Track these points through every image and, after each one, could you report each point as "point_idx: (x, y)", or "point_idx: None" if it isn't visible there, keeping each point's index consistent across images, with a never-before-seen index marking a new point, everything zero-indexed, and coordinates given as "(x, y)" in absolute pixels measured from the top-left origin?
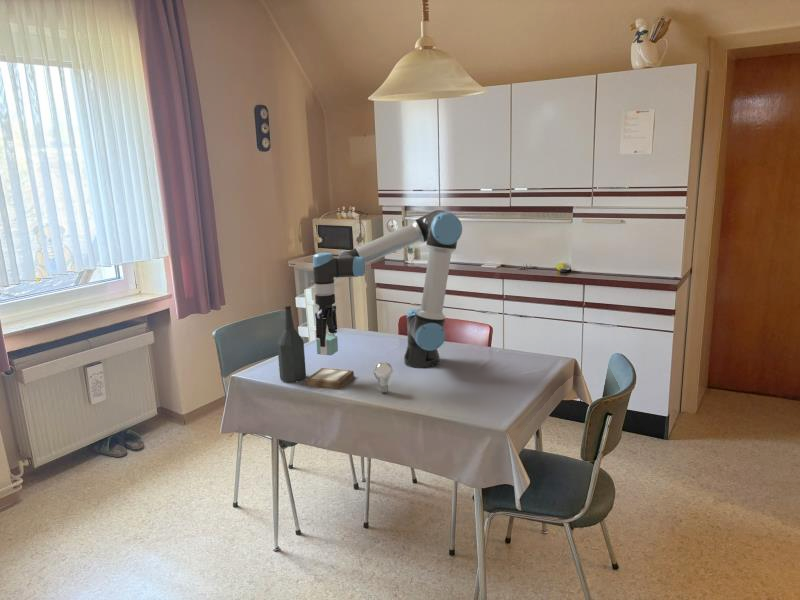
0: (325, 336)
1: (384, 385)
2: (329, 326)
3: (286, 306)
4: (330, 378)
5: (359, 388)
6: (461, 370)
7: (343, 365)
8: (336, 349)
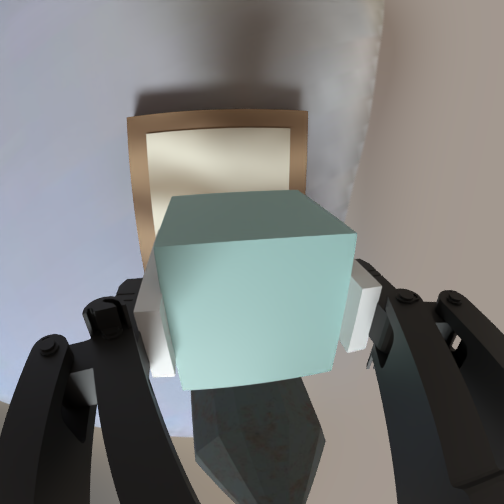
0: (398, 303)
1: None
2: (168, 433)
3: None
4: (268, 170)
5: (266, 33)
6: None
7: (38, 239)
8: (198, 199)
